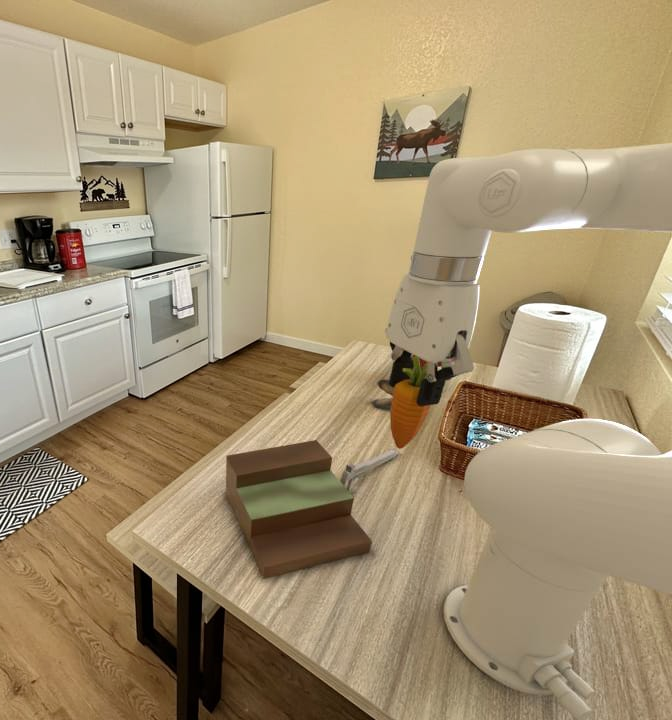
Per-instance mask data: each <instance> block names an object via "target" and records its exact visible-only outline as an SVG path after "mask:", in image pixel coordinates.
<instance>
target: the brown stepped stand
mask: <svg viewBox="0 0 672 720" xmlns="http://www.w3.org/2000/svg"><path fill="white" fill-rule="evenodd" d="M225 462H226V463H225V495H226V498H227V500H228V502H229V504H230V506H231V509H232V511H233V514H234V515H235V518H236V521H237V522H238V524H239V527H240V529H241V531H242V534H243V536H244V538H245V540H246V542H247V545H248V547H249V549H250V552H251V554H252V556H253V558H254V560H255V563H256V565H257V567H258V569H259V572H260V574H261V576H262V578H263V579H267V578H271V577H276V576H279V575H284V574H288V573H292V572H297V571H299V570H304V569H308V568H312V567H315V566H319V565H324V564H327V563H333V562H337V561H341V560H344V559H348V558H352V557H356V556H360V555H365V554H368V553H370V552H371V548H372V543H373V541H372V539H371V538H370V537H369V535H368V534H367V533H366V532H365V529H363V527H361V525H360V524H359V523H358V522H357V520H356V519H355V518H354V516H353V515H352V510H353V505H354V500H355V497H354V496H353V494H352V493H351V491H348V490H347V489H346V488H345V486H344V485H343V484H342V483H341V482H340V479H339V478H338V477H337V476H336V475H335V474H334V472H333V471H332V470H331V468H332V463H333V457H332V456H331V454H330V453H329V452H328V451H327V450H326V449H325V448H324V447H323V446H322V444H320V442H319V441H318V440H317V439H314V440H308V441H307V440H306V441H302V442H296V443H291V444H285V445H280V446H274V447H268V448H261V449H257V450H250V451H245V452H239V453H234V454H233V453H232V454H228V455H226V461H225Z"/></svg>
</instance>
